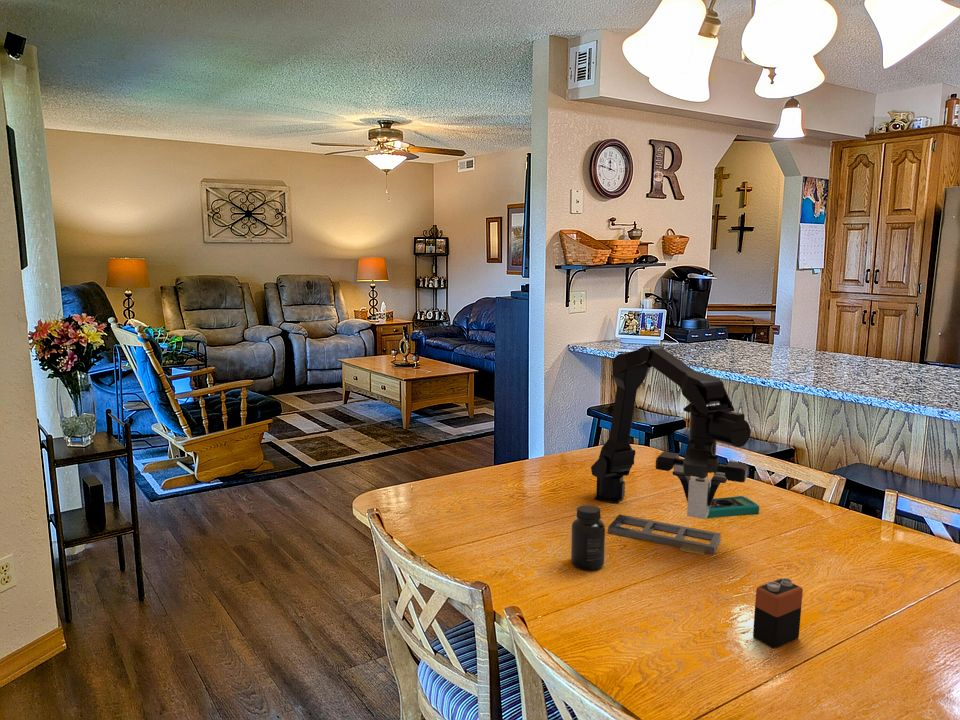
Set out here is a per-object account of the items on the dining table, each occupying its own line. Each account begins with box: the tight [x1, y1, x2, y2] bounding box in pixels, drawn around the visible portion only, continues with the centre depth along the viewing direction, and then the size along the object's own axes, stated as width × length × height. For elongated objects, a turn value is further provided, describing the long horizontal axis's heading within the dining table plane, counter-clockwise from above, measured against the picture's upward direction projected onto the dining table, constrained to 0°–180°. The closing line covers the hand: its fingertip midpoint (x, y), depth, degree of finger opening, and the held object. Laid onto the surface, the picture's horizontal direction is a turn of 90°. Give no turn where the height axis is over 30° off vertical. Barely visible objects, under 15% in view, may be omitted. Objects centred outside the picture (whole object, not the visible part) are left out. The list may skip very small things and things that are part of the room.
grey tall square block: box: [686, 476, 712, 520], centre depth 150 cm, size 4×4×8 cm
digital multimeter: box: [707, 495, 760, 519], centre depth 171 cm, size 7×15×3 cm, turn 103°
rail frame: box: [607, 513, 722, 556], centre depth 155 cm, size 23×10×2 cm, turn 62°
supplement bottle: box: [570, 504, 606, 571], centre depth 140 cm, size 7×7×12 cm
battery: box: [752, 577, 804, 649], centre depth 114 cm, size 4×7×10 cm, turn 121°
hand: (698, 503), depth 151 cm, fingers closed on grey tall square block, 4 cm apart
